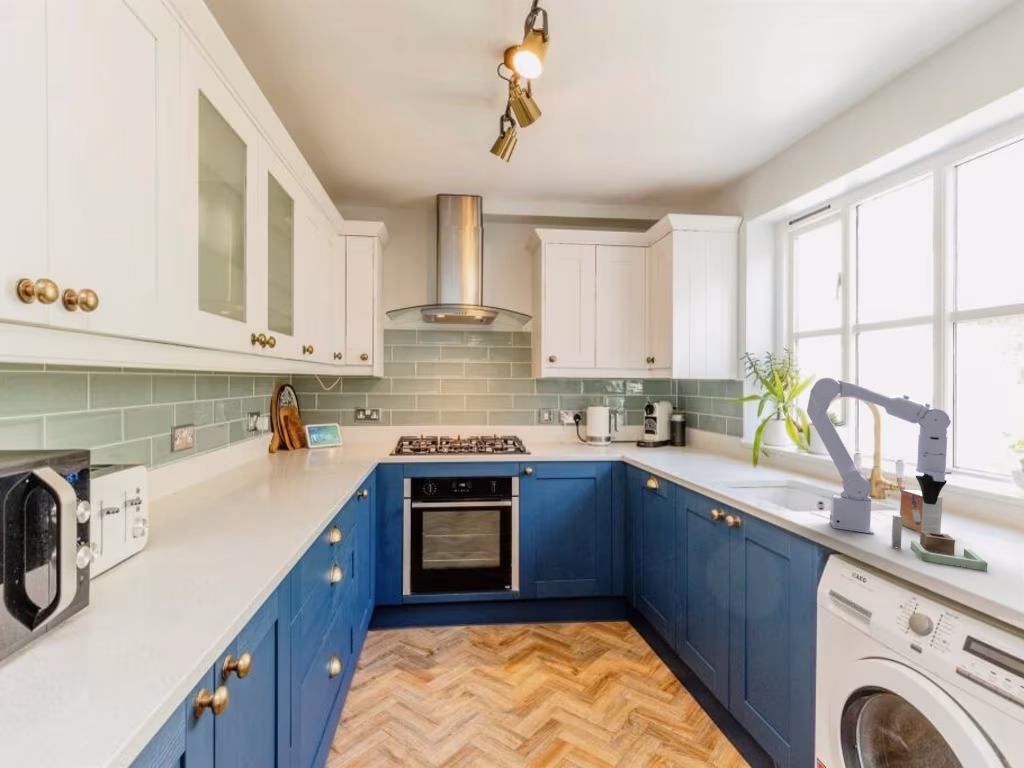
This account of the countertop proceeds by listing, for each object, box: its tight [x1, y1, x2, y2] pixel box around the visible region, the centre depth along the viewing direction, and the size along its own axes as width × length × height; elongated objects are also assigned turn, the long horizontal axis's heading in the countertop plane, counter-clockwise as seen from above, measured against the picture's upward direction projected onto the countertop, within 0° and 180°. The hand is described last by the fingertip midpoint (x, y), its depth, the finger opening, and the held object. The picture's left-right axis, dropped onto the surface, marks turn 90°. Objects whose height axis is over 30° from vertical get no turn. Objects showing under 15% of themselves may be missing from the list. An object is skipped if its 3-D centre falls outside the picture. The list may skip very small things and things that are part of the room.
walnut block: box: [919, 531, 956, 555], centre depth 121 cm, size 5×5×4 cm
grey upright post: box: [891, 514, 903, 549], centre depth 122 cm, size 2×2×8 cm
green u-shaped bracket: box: [910, 540, 988, 572], centre depth 115 cm, size 11×10×2 cm
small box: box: [899, 489, 944, 533], centre depth 138 cm, size 8×6×10 cm
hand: (929, 503), depth 128 cm, fingers closed
